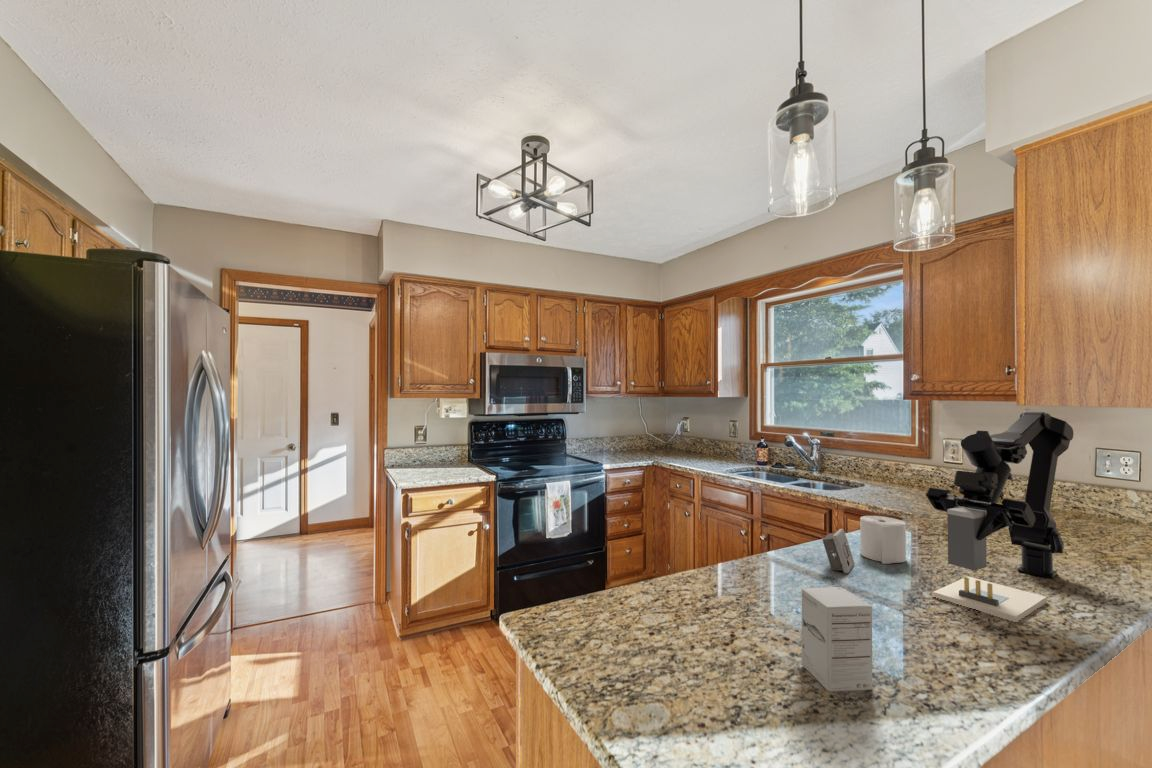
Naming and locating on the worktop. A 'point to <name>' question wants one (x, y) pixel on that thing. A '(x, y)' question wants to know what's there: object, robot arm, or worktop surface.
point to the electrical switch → (838, 551)
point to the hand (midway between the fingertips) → (963, 535)
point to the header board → (991, 598)
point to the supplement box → (837, 638)
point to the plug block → (966, 538)
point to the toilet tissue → (883, 539)
